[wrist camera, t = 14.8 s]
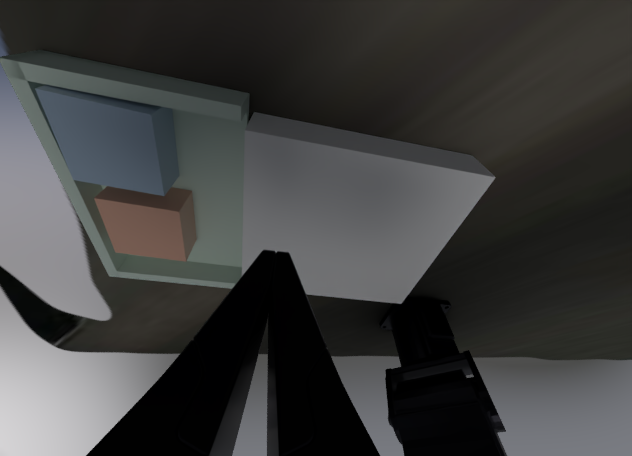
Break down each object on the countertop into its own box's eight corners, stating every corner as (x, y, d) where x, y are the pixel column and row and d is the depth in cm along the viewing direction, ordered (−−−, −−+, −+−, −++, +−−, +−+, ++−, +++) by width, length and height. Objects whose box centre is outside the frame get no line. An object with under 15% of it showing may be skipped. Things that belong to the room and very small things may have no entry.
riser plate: (393, 278, 27) (401, 303, 25) (247, 261, 25) (241, 287, 23) (472, 155, 18) (495, 177, 16) (253, 111, 16) (244, 130, 14)
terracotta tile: (115, 252, 19) (132, 230, 21) (186, 261, 20) (196, 239, 22) (93, 198, 16) (116, 177, 18) (179, 211, 17) (192, 190, 19)
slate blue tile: (73, 179, 15) (99, 160, 17) (164, 196, 16) (179, 175, 18) (34, 88, 12) (72, 76, 14) (151, 114, 13) (171, 100, 15)
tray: (244, 267, 25) (239, 289, 24) (124, 254, 24) (109, 276, 22) (249, 93, 15) (241, 106, 13) (40, 49, 14) (-3, 57, 12)
